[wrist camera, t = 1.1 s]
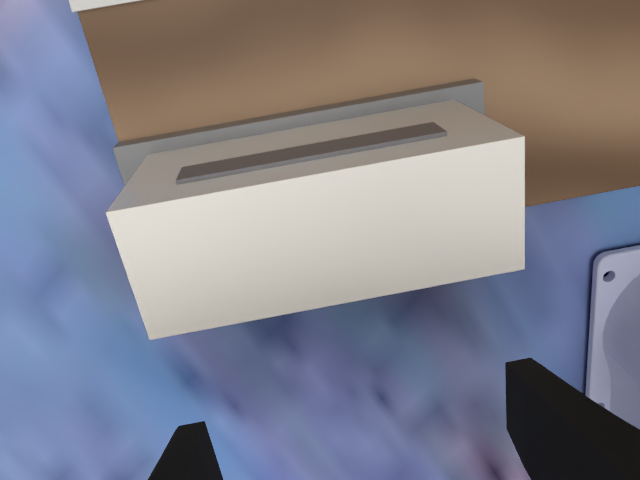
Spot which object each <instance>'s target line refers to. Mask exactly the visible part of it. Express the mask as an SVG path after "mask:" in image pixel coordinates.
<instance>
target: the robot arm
mask: <svg viewBox="0 0 640 480" xmlns="http://www.w3.org/2000/svg"><path fill="white" fill-rule="evenodd" d="M608 271H610V272H609V274H608V275H607V276H606V277H604V278H603V276H604V274H605V273H606V272H608ZM506 414H507V430H508V432H509V434H510V437H511V439H512V441H513V444H514V446H515V448H516V450H517V453H518V455H519V457H520V459H521V461H522V463H523V465H524V468H525V469H526V471H527V473H528V475H529V476H530V478H531V480H640V245H637V246H632V247H627V248H621V249H616V250H611V251H606V252H603V253H601V254H599V255H598V256H597V257H596V259H595V260H594V264H593V278H592V295H591V311H590V328H589V345H588V361H587V378H586V395H584V394H582V393H581V392H579V391H578V390H577V389H575V388H574V387H572V386H571V385H569V384H568V383H566V382H565V381H563V380H562V379H561V378H559V377H558V376H556V375H555V374H553V373H552V372H551V371H549V370H548V369H546V368H545V367H543V366H542V365H541V364H539V363H538V362H536V361H535V360H533V359H532V358H527V359H521V360H516V361H511V362H506ZM148 480H223V477H222V474H221V471H220V468H219V465H218V462H217V459H216V455H215V452H214V449H213V446H212V443H211V440H210V437H209V434H208V430H207V427H206V424H205V421H203V422H198V423H192V424H187V425H182V426H179V427H178V428H177V429H176V431H175V432H174V434H173V436H172V438H171V439H170V441H169V443H168V445H167V447H166V449H165V450H164V452H163V454H162V456H161V458H160V459H159V461H158V463H157V465H156V466H155V468H154V470H153V472H152V473H151V475H150V477H149V479H148Z"/></svg>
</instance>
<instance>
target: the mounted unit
mask: <svg viewBox="0 0 640 480" xmlns="http://www.w3.org/2000/svg"><path fill="white" fill-rule="evenodd" d="M113 151H114V154H115V157H116V160H117V163H118V166H119V169H120V172H121V175H122V178H123V182H124V185H125V187H124V188H123V189H122V191H121V192H120V193H119V195H118V196H117V198H116V199H115V200H114V202H113V203H112V204H111V206H110V207H109V209H108V210H107V211H106V215H107V218H108V221H109V224H110V227H111V229H112V232H113V235H114V238H115V241H116V244H117V247H118V250H119V253H120V255H121V258H122V261H123V264H124V267H125V270H126V273H127V276H128V279H129V282H130V284H131V287H132V290H133V293H134V296H135V299H136V302H137V305H138V308H139V311H140V313H141V316H142V319H143V322H144V325H145V328H146V331H147V334H148V337H149V340H152V339H158V338H163V337H168V336H174V335H179V334H184V333H189V332H195V331H200V330H205V329H211V328H216V327H221V326H227V325H232V324H237V323H242V322H248V321H253V320H258V319H264V318H269V317H274V316H280V315H285V314H290V313H295V312H301V311H306V310H311V309H317V308H322V307H327V306H333V305H338V304H343V303H348V302H354V301H359V300H364V299H370V298H375V297H380V296H386V295H391V294H396V293H401V292H407V291H412V290H417V289H423V288H428V287H433V286H439V285H444V284H449V283H454V282H460V281H465V280H470V279H476V278H481V277H486V276H492V275H497V274H502V273H507V272H513V271H518V270H523V269H525V136H523V135H521V134H519V133H517V132H515V131H514V130H512V129H510V128H508V127H506V126H504V125H502V124H500V123H498V122H496V121H494V120H492V119H490V118H488V117H486V116H484V83H483V81H480V80H477V79H469V80H463V81H458V82H452V83H447V84H441V85H435V86H430V87H424V88H419V89H413V90H407V91H402V92H396V93H390V94H385V95H379V96H374V97H368V98H362V99H357V100H351V101H346V102H340V103H334V104H329V105H323V106H317V107H312V108H306V109H301V110H295V111H289V112H284V113H278V114H273V115H267V116H261V117H256V118H250V119H244V120H239V121H233V122H228V123H222V124H216V125H211V126H205V127H200V128H194V129H188V130H183V131H177V132H172V133H166V134H160V135H155V136H149V137H143V138H138V139H132V140H127V141H121V142H118V143H117V144H116V145H115V146H114V147H113Z"/></svg>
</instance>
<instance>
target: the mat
mask: <svg viewBox="0 0 640 480" xmlns="http://www.w3.org/2000/svg"><path fill="white" fill-rule="evenodd" d="M137 1H143V0H69V3H70V7H71V10H72V12H78V11H84V10H90V9H96V8H102V7H108V6H113V5H119V4H125V3H131V2H137Z"/></svg>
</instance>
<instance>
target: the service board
mask: <svg viewBox="0 0 640 480" xmlns="http://www.w3.org/2000/svg"><path fill="white" fill-rule="evenodd" d="M78 15H79V18H80V21H81V24H82V27H83V31H84V34H85V37H86V40H87V43H88V46H89V50H90V53H91V56H92V59H93V62H94V65H95V69H96V72H97V75H98V78H99V81H100V84H101V88H102V91H103V94H104V97H105V100H106V103H107V107H108V110H109V113H110V116H111V119H112V122H113V126H114V129H115V132H116V135H117V138H118V141H119V142H121V141H127V140H132V139H138V138H143V137H149V136H155V135H160V134H166V133H172V132H177V131H183V130H188V129H194V128H200V127H205V126H211V125H216V124H222V123H228V122H233V121H239V120H244V119H250V118H256V117H261V116H267V115H273V114H278V113H284V112H289V111H295V110H301V109H306V108H312V107H317V106H323V105H329V104H334V103H340V102H346V101H351V100H357V99H362V98H368V97H374V96H379V95H385V94H390V93H396V92H402V91H407V90H413V89H419V88H424V87H430V86H435V85H441V84H447V83H452V82H458V81H463V80H469V79H477V80H480V81H483V83H484V116H486V117H488V118H490V119H492V120H494V121H496V122H498V123H500V124H502V125H504V126H506V127H508V128H510V129H512V130H514V131H515V132H517V133H519V134H521V135H523V136H525V207H527V206H532V205H538V204H543V203H549V202H554V201H559V200H565V199H570V198H576V197H581V196H586V195H592V194H597V193H603V192H608V191H613V190H619V189H624V188H630V187H635V186H640V0H143V1H137V2H131V3H125V4H119V5H113V6H108V7H102V8H96V9H90V10H84V11H78Z"/></svg>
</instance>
